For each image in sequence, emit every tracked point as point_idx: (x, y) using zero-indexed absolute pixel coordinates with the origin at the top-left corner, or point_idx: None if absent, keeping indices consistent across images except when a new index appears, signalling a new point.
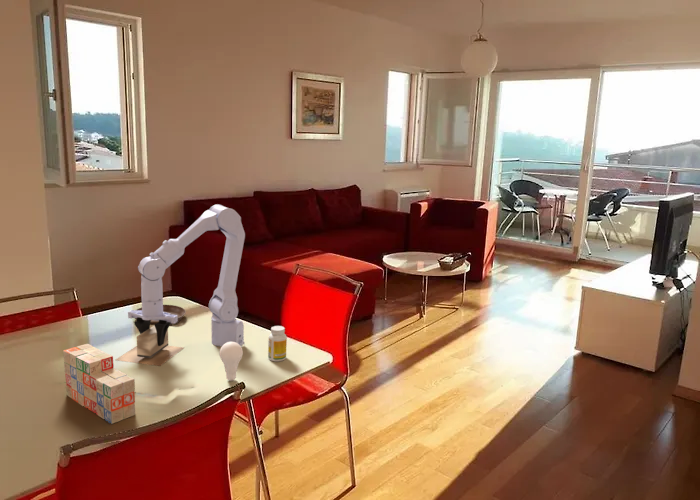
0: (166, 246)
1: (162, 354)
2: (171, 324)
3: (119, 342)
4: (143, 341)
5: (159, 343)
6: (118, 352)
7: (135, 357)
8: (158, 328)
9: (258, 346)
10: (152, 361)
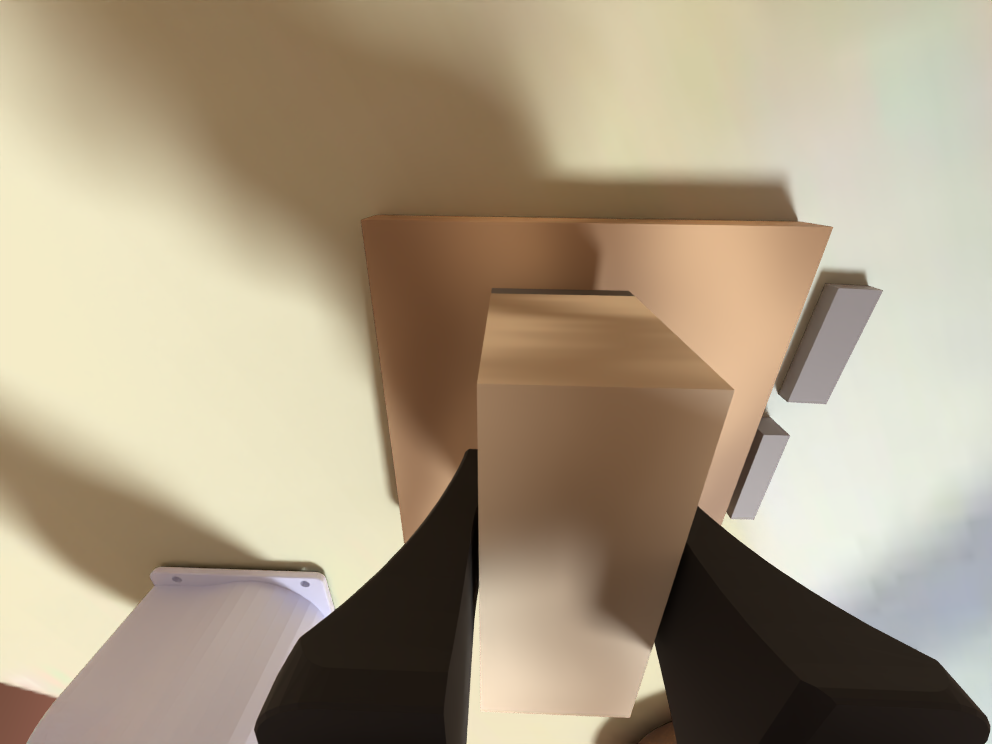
0: None
1: None
2: (651, 732)
3: (865, 549)
4: (584, 353)
5: (465, 461)
6: (833, 430)
7: None
8: (393, 620)
9: None
10: (479, 289)
